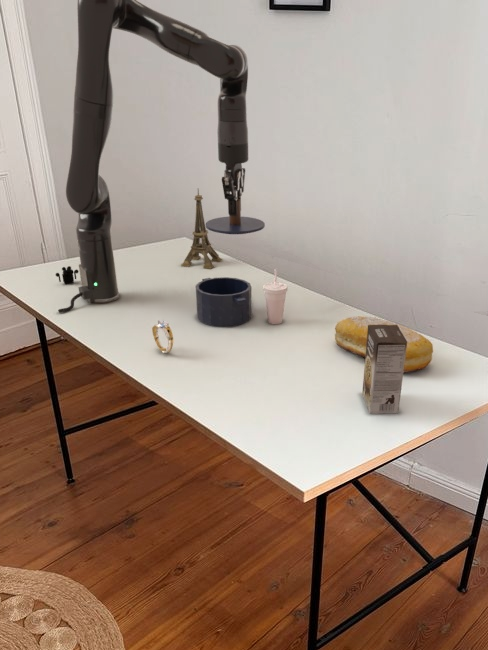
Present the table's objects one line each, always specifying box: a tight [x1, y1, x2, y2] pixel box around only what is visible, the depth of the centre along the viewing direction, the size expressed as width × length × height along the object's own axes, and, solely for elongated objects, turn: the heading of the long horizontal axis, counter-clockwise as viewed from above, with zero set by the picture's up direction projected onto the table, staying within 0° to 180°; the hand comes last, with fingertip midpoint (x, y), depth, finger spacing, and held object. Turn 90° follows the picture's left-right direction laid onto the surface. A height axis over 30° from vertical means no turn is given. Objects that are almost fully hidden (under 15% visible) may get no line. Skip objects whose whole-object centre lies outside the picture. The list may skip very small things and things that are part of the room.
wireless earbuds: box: [55, 265, 80, 285], centre depth 206 cm, size 7×2×5 cm, turn 124°
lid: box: [205, 199, 266, 235], centre depth 179 cm, size 16×16×7 cm
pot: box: [195, 276, 253, 328], centre depth 184 cm, size 15×20×8 cm
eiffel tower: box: [180, 189, 223, 270], centre depth 219 cm, size 11×11×25 cm
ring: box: [151, 319, 174, 354], centre depth 164 cm, size 7×3×8 cm, turn 37°
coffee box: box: [361, 325, 407, 415], centre depth 142 cm, size 9×6×16 cm
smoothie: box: [262, 268, 289, 325], centre depth 180 cm, size 6×6×14 cm
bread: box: [334, 315, 434, 373], centre depth 164 cm, size 13×26×8 cm, turn 44°
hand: (234, 213), depth 179 cm, fingers closed on lid, 3 cm apart
